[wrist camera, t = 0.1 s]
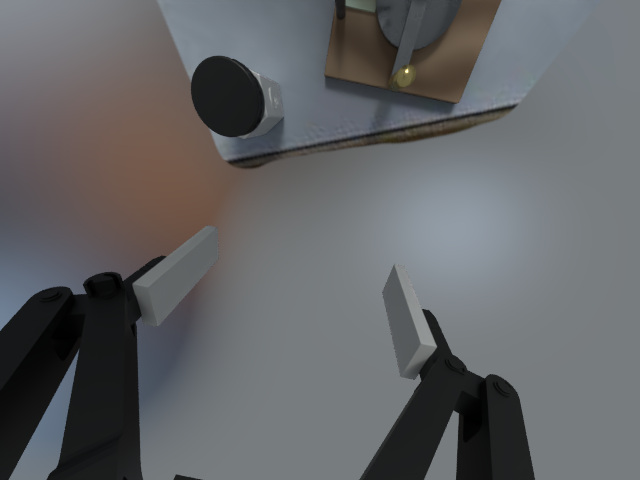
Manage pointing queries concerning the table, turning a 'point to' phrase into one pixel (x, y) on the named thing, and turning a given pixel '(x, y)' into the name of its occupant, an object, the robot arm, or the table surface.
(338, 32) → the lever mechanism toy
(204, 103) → the jar
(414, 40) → the grey metal domed piece
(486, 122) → the table surface
